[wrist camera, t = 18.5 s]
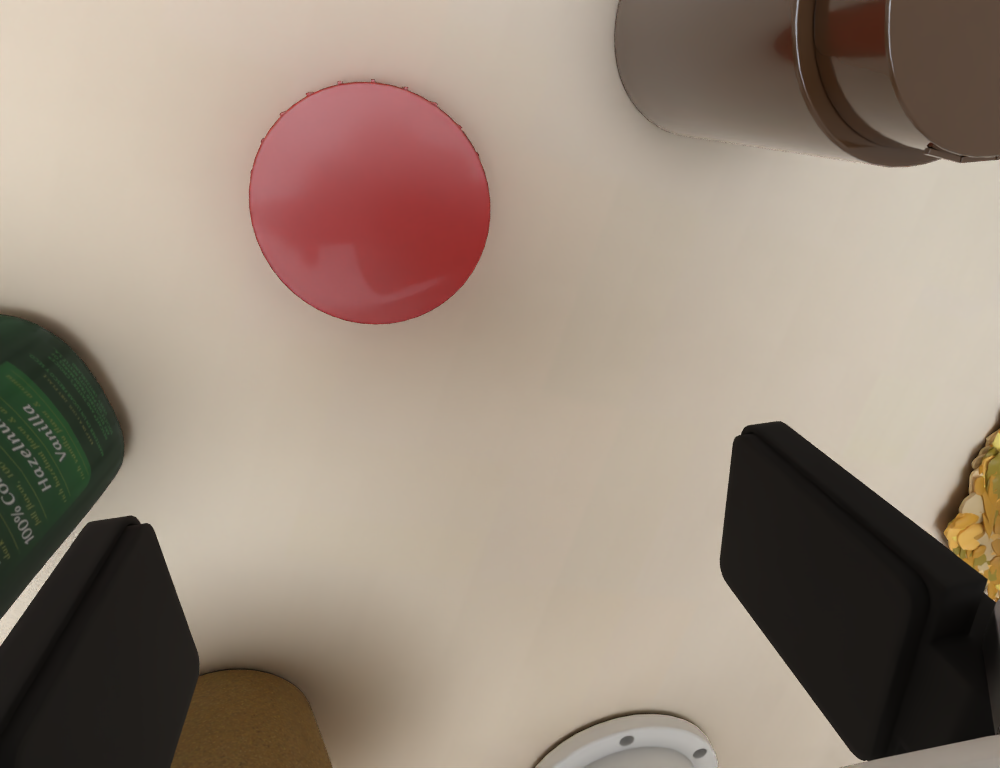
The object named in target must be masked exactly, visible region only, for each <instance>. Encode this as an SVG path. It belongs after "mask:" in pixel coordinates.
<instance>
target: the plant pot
mask: <svg viewBox="0 0 1000 768" xmlns="http://www.w3.org/2000/svg"><path fill="white" fill-rule="evenodd" d="M170 768H332V765H331V762H330V759H329V756H328V753H327V750H326V748H325V745H324V742H323V739H322V736H321V734H320V731H319V728H318V726H317V723H316V720H315V718H314V715H313V712H312V710H311V707H310V705H309V703H308V701H307V699H306V697H305V696H304V695H303V693H302V692H301V691H300V690H299V689H298V688H297V687H296V686H294V685H293V684H291V683H290V682H288V681H286V680H284V679H282V678H280V677H278V676H275V675H272V674H269V673H265V672H261V671H254V670H224V671H218V672H213V673H208V674H204V675H202V676H199V677H198V680H197V684H196V687H195V690H194V693H193V696H192V700H191V703H190V706H189V709H188V712H187V716H186V719H185V722H184V725H183V728H182V732H181V735H180V738H179V741H178V744H177V748H176V751H175V754H174V757H173V760H172V763H171V767H170Z"/></svg>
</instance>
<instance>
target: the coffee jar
mask: <svg viewBox="0 0 1000 768" xmlns="http://www.w3.org/2000/svg"><path fill="white" fill-rule="evenodd" d="M123 456H124V439H123V434H122V431H121V428H120V424H119V422H118V420H117V417H116V415H115V412H114V410H113V408H112V406H111V405H110V403H109V401H108V399H107V397H106V395H105V394H104V392H103V390H102V388H101V386H100V385H99V383H98V382H97V380H96V379H95V377H94V376H93V374H92V373H91V372H90V370H89V369H88V367H87V366H86V365H85V363H84V362H83V361H82V360H81V359H80V358H79V356H78V355H77V354H76V353H75V352H74V351H73V350H72V349H71V348H70V347H69V346H68V345H67V344H66V343H65V342H64V341H62V340H61V339H60V338H59V337H57V336H56V335H54V334H53V333H51V332H49V331H48V330H46V329H44V328H43V327H41V326H39V325H37V324H35V323H32V322H30V321H27V320H24V319H21V318H17V317H13V316H7V315H1V314H0V619H1V618H2V617H3V616H4V614H5V613H6V612H7V611H8V609H9V608H10V607H11V606H12V604H13V603H14V602H15V601H16V599H17V598H18V597H19V595H20V594H21V593H22V592H23V590H24V589H25V588H26V587H27V585H28V584H29V583H30V582H31V580H32V579H33V578H34V577H35V575H36V574H37V573H38V572H39V571H40V570H41V569H42V567H43V566H44V565H45V563H46V562H47V561H48V560H49V558H50V557H51V556H52V555H53V554H54V553H55V552H56V550H57V549H58V548H59V547H60V546H61V544H62V543H63V542H64V541H65V539H66V538H67V537H68V536H69V535H70V533H71V532H72V531H73V530H74V529H75V528H76V526H77V525H78V524H79V523H80V521H81V520H82V519H83V518H84V517H85V515H86V514H87V513H88V512H89V510H90V509H91V508H92V507H93V505H94V504H95V503H96V502H97V500H98V499H99V498H100V496H101V495H102V494H103V492H104V491H105V490H106V488H107V487H108V486H109V484H110V483H111V481H112V480H113V479H114V477H115V476H116V474H117V473H118V471H119V469H120V467H121V465H122V461H123Z"/></svg>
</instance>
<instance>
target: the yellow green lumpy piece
mask: <svg viewBox="0 0 1000 768" xmlns="http://www.w3.org/2000/svg"><path fill="white" fill-rule="evenodd" d="M972 468H973V469H974V471H973V472H972V473H971V474H970V477H969V496H968V497H966V498H965V499H964V500H963V501H962V503H961V505H960V507H959V514H958V515H957V516H956V518H954V519H953V520H952V521H951V522H949V523H948V527H947V528H946V530H945V531H944V535H945V536H946V538H947V540H948V545H949V548H950V549H951V550H952V551H953V553H954V554H956V555H957V556H958V557H959V558H961V559H962V560H963V561H965V562H966V563H967V564H969V565H970V566H971V567H973V568H974V569H975V570H976V571H978V572H979V573H980V574H982V575H983V576H984V577H986V578H987V579H988V581H987V584H986V587H987V591H988V597H990V598H991V599H992V600H993V599H995V602H997V601H998V600H999V599H1000V429H999V430H997V431H996V432H994V433H993V434H991V435H990V436H988V437H987V438H986V444H985V447H984V448H982V449H981V450H980V452H979V455H978V457H976V458H975V459H974V460H973V462H972ZM986 587H985V589H986Z"/></svg>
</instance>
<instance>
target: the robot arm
mask: <svg viewBox="0 0 1000 768" xmlns="http://www.w3.org/2000/svg"><path fill="white" fill-rule="evenodd" d="M720 568H721V572H722V575H723V578H724V580H725V581H726V583H727V584H728V586H729V587H730V589H731V590H732V591H733V593H734V594H735V595H736V597H737V598H738V599H739V601H740V602H741V603H742V605H743V606H744V607H745V609H746V610H747V612H748V613H749V614H750V616H751V617H752V618H753V620H754V621H755V622H756V624H757V625H758V626H759V628H760V629H761V630H762V632H763V633H764V635H765V636H766V637H767V639H768V640H769V641H770V643H771V644H772V645H773V647H774V648H775V649H776V651H777V652H778V653H779V655H780V656H781V658H782V659H783V660H784V662H785V663H786V664H787V666H788V667H789V668H790V670H791V671H792V672H793V674H794V675H795V677H796V678H797V679H798V681H799V682H800V683H801V685H802V686H803V687H804V689H805V690H806V691H807V693H808V694H809V695H810V697H811V698H812V700H813V701H814V702H815V704H816V705H817V706H818V708H819V709H820V710H821V712H822V713H823V714H824V716H825V717H826V718H827V720H828V721H829V723H830V724H831V725H832V727H833V728H834V729H835V731H836V732H837V733H838V735H839V736H840V737H841V739H842V740H843V741H844V743H845V744H846V746H847V747H848V748H849V750H850V751H851V752H852V753H853V754H854V755H855V756H856V757H857V758H859V759H860V760H863V761H865V760H867V762H862V763H858V764H854V765H849V766H845V767H841V768H1000V599H999V600H998V601H997V602H995V601H993V600H992V599H991V598H990V597H988V596H987V595H986V594H985V593H984V590H985V587H986V584H987V581H988V579H987V578H986V577H984V576H983V575H982V574H980V573H979V572H978V571H976V570H975V569H974V568H973V567H971V566H970V565H969V564H967V563H966V562H965V561H963V560H962V559H961V558H959V557H958V556H957V555H956V554H954V553H953V552H952V551H950V550H949V549H948V548H946V547H945V546H944V545H943V544H941V543H940V542H939V541H937V540H936V539H935V538H933V537H932V536H931V535H930V534H928V533H927V532H926V531H924V530H923V529H922V528H920V527H919V526H918V525H917V524H915V523H914V522H913V521H911V520H910V519H909V518H907V517H906V516H905V515H904V514H902V513H901V512H900V511H898V510H897V509H896V508H894V507H893V506H892V505H891V504H889V503H888V502H887V501H885V500H884V499H883V498H881V497H880V496H879V495H878V494H876V493H875V492H874V491H872V490H871V489H870V488H868V487H867V486H866V485H865V484H863V483H862V482H861V481H859V480H858V479H857V478H855V477H854V476H853V475H851V474H850V473H849V472H848V471H846V470H845V469H844V468H842V467H841V466H840V465H838V464H837V463H836V462H835V461H833V460H832V459H831V458H829V457H828V456H827V455H825V454H824V453H823V452H822V451H820V450H819V449H818V448H816V447H815V446H814V445H812V444H811V443H810V442H809V441H807V440H806V439H805V438H803V437H802V436H801V435H799V434H798V433H797V432H796V431H794V430H793V429H792V428H790V427H789V426H788V425H786V424H785V423H783V422H781V421H776V422H769V423H762V424H755V425H748V426H746V427H745V428H744V429H743V431H742V433H741V435H739V436H737V437H735V439H734V442H733V447H732V456H731V465H730V474H729V483H728V492H727V501H726V509H725V518H724V527H723V536H722V545H721V554H720ZM198 676H199V656H198V652H197V649H196V646H195V644H194V641H193V638H192V635H191V632H190V630H189V627H188V624H187V621H186V618H185V616H184V613H183V610H182V607H181V604H180V601H179V599H178V596H177V593H176V590H175V587H174V585H173V582H172V579H171V576H170V573H169V571H168V568H167V565H166V562H165V559H164V556H163V554H162V551H161V548H160V545H159V542H158V540H157V537H156V534H155V531H154V529H153V527H152V526H151V525H150V524H148V523H145V524H140V522H139V520H138V519H137V518H136V517H134V516H126V517H119V518H112V519H105V520H98V521H92V522H89V523H88V524H87V525H86V526H85V527H84V528H83V529H82V531H81V532H80V533H79V535H78V536H77V538H76V539H75V541H74V542H73V543H72V545H71V546H70V548H69V549H68V551H67V552H66V553H65V555H64V556H63V558H62V559H61V561H60V562H59V563H58V565H57V566H56V568H55V569H54V571H53V572H52V573H51V575H50V576H49V578H48V579H47V581H46V582H45V583H44V585H43V586H42V588H41V589H40V591H39V592H38V593H37V595H36V596H35V598H34V599H33V601H32V602H31V603H30V605H29V606H28V608H27V609H26V611H25V612H24V613H23V615H22V616H21V618H20V619H19V620H18V622H17V623H16V625H15V626H14V628H13V629H12V630H11V632H10V633H9V635H8V636H7V638H6V639H5V640H4V642H3V643H2V645H1V646H0V768H170V767H171V763H172V760H173V757H174V754H175V751H176V748H177V744H178V741H179V738H180V735H181V732H182V728H183V725H184V722H185V719H186V716H187V712H188V709H189V706H190V703H191V700H192V696H193V693H194V690H195V687H196V684H197V680H198ZM535 768H718V760H717V757H716V753H715V751H714V749H713V747H712V746H711V744H710V742H709V740H708V738H707V736H706V735H705V734H704V733H703V732H702V731H701V730H700V729H699V728H698V727H697V726H695V725H693V724H692V723H690V722H688V721H686V720H683V719H680V718H677V717H673V716H669V715H660V714H640V715H631V716H626V717H620V718H615V719H612V720H609V721H606V722H603V723H600V724H596V725H594V726H592V727H590V728H588V729H585V730H583V731H581V732H579V733H577V734H575V735H574V736H572V737H570V738H569V739H567V740H566V741H564V742H562V743H561V744H560V745H558V746H557V747H556V748H555V749H553V750H552V751H551V752H550V753H548V754H547V755H546V756H545V757H544V758H543V759H542V760H541V762H540V763H539V764H538V765H537V766H536V767H535Z"/></svg>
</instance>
